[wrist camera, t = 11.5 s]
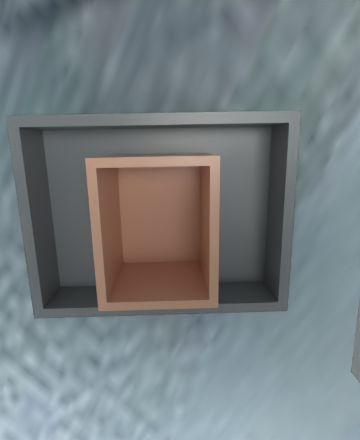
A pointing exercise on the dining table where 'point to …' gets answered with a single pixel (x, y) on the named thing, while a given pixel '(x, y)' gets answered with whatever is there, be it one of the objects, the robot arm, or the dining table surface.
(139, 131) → the grey tray
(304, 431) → the dining table surface
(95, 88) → the dining table surface
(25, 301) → the dining table surface
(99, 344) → the dining table surface
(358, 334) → the robot arm
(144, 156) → the small crate
